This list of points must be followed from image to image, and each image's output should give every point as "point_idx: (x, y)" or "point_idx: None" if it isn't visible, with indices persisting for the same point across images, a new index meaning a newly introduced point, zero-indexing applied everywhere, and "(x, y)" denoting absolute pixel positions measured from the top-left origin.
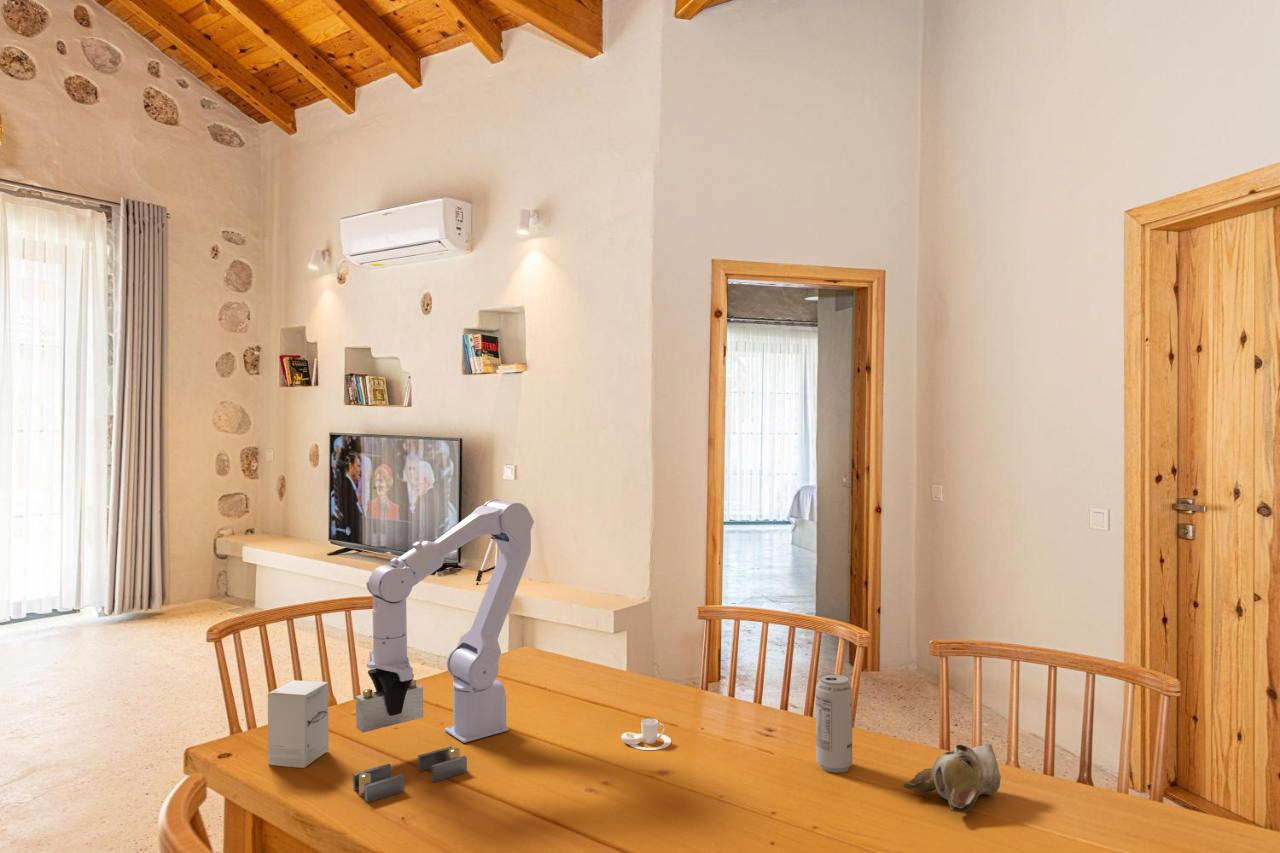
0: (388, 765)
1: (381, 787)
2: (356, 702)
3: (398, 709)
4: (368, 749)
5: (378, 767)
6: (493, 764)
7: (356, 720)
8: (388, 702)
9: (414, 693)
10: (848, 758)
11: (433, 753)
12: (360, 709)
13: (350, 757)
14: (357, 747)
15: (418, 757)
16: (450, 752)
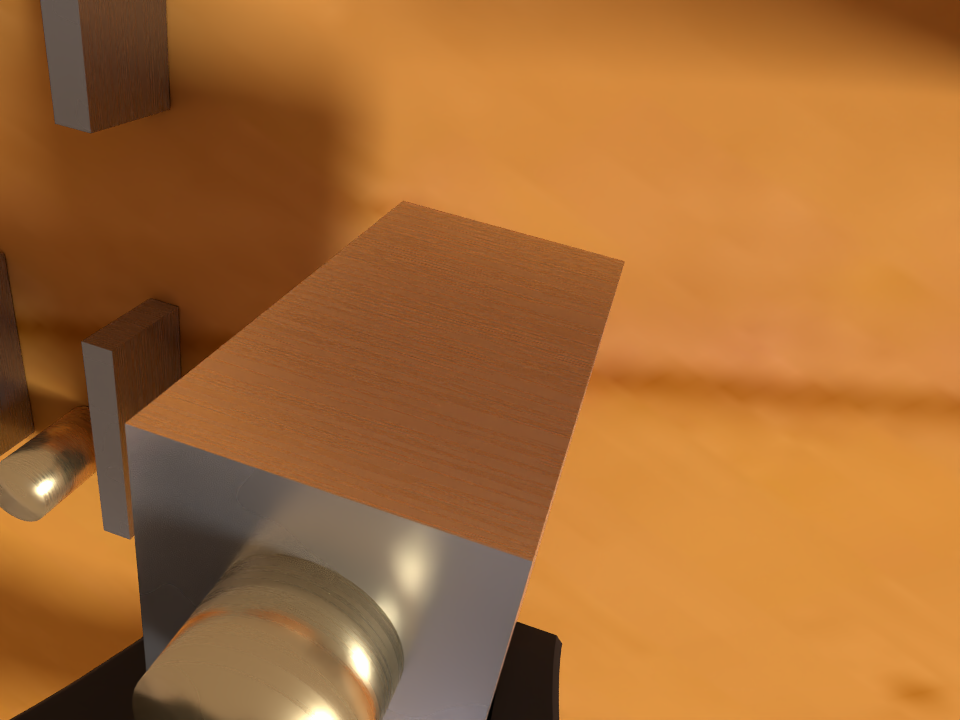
0: (58, 104)
1: None
2: (532, 457)
3: None
4: (773, 354)
5: (66, 22)
6: (32, 537)
7: (597, 297)
8: (129, 648)
9: None
10: None
11: (91, 423)
12: (338, 345)
13: (774, 163)
14: (906, 333)
15: (113, 344)
16: (3, 464)
